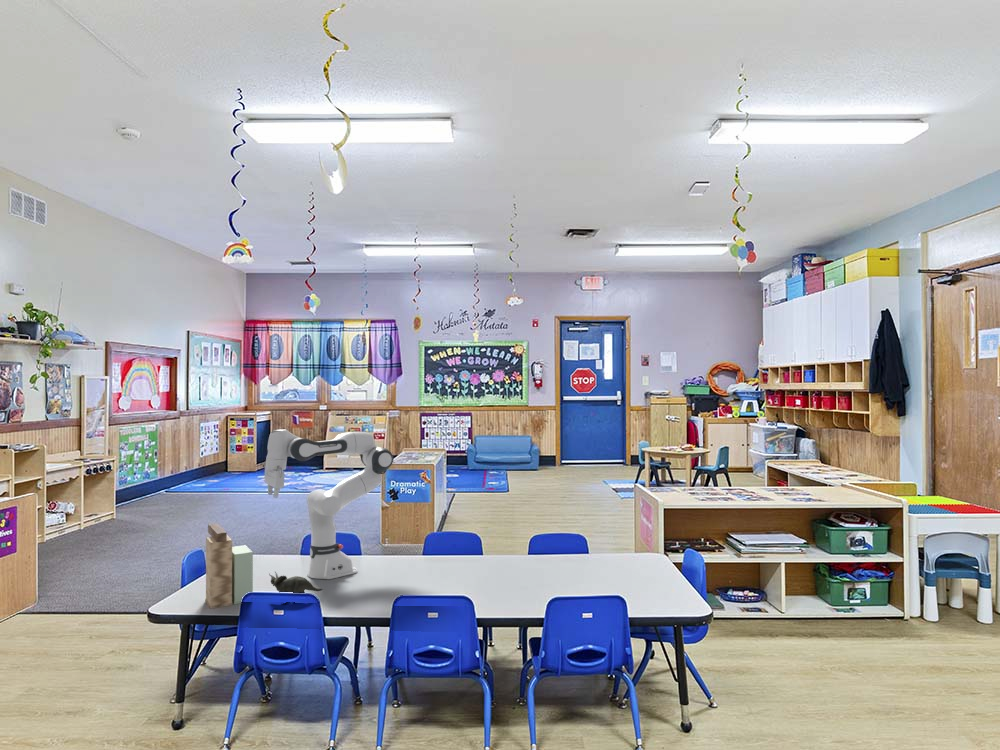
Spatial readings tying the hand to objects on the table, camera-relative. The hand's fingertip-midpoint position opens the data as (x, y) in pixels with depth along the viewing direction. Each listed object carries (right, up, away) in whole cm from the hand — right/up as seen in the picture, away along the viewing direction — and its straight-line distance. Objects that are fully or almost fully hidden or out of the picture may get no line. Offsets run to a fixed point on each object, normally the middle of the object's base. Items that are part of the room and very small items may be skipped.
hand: (272, 496), depth 289 cm
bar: (-15, -13, -22) cm, 30 cm away
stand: (-13, -39, -26) cm, 48 cm away
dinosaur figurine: (+18, -39, -25) cm, 49 cm away
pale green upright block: (-6, -39, -20) cm, 44 cm away
